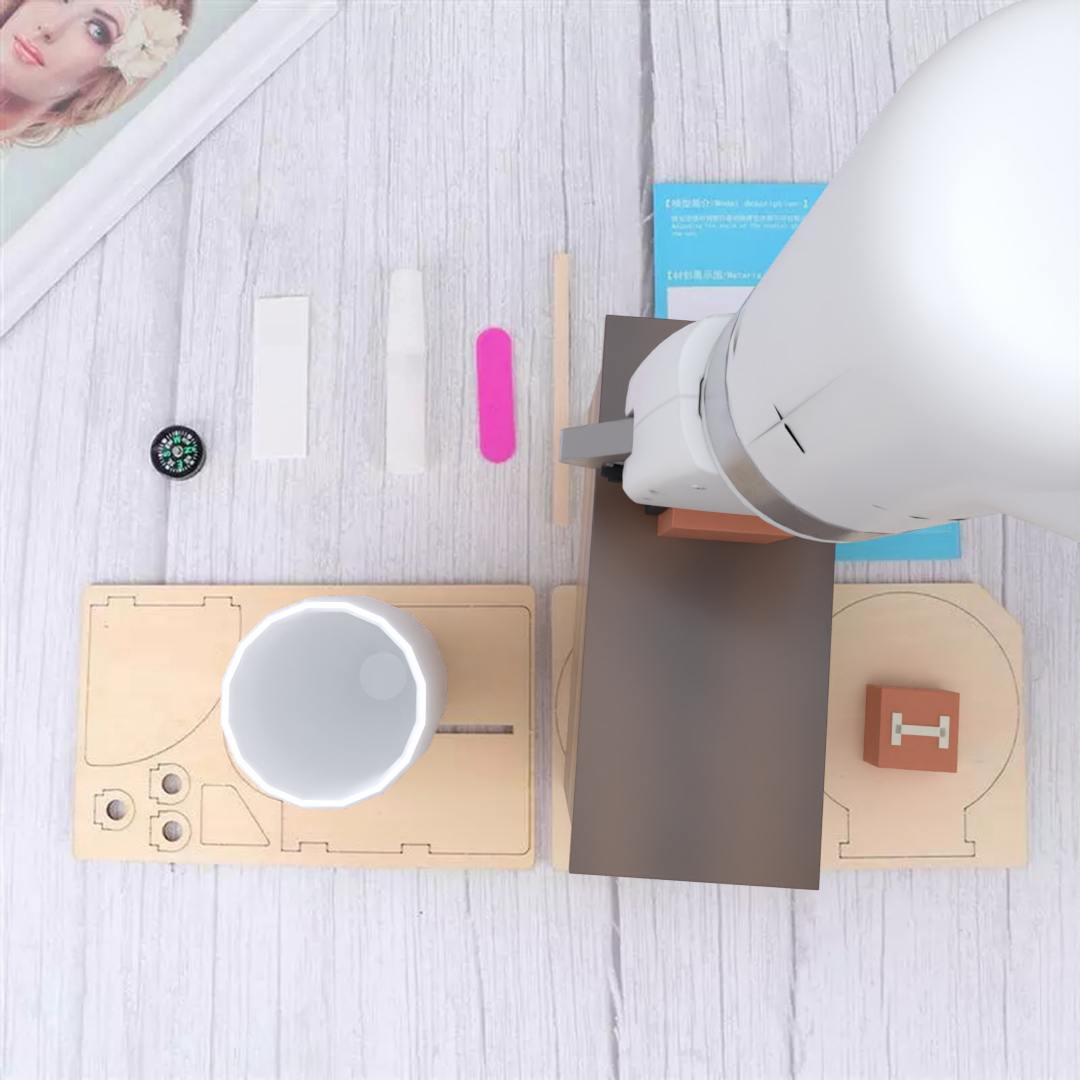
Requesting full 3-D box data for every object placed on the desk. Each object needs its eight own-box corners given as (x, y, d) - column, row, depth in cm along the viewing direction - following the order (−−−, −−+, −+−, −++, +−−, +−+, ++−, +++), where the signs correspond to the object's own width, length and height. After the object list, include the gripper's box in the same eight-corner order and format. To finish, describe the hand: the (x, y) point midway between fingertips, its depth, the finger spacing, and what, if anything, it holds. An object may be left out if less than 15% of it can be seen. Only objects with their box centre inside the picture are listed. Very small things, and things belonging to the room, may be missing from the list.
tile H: (773, 433, 44) (803, 412, 39) (767, 544, 43) (797, 536, 39) (663, 426, 44) (680, 404, 39) (656, 536, 43) (672, 527, 39)
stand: (731, 424, 67) (831, 334, 45) (710, 792, 65) (804, 886, 43) (587, 414, 67) (615, 318, 45) (562, 782, 65) (579, 870, 43)
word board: (842, 335, 45) (846, 331, 44) (815, 886, 43) (819, 890, 42) (604, 317, 45) (605, 314, 44) (568, 870, 43) (568, 873, 42)
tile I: (930, 687, 65) (961, 693, 61) (927, 761, 65) (958, 773, 60) (857, 682, 65) (882, 687, 61) (853, 756, 65) (879, 768, 60)
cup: (368, 780, 65) (288, 866, 43) (284, 650, 65) (164, 670, 44) (498, 694, 65) (484, 736, 44) (414, 565, 66) (359, 544, 44)
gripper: (1181, 279, 25) (908, 416, 44) (537, 231, 25) (532, 389, 43) (1175, 562, 25) (901, 581, 43) (517, 515, 25) (520, 554, 43)
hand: (717, 484), depth 43 cm, fingers closed on tile H, 5 cm apart
